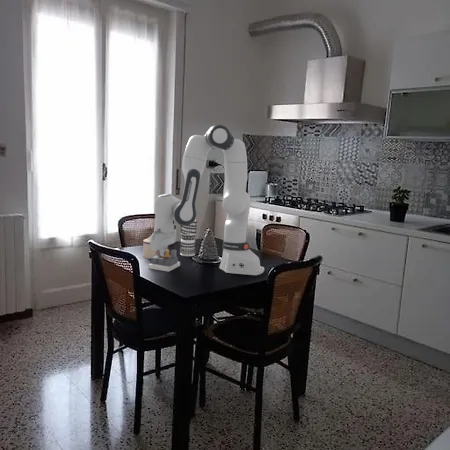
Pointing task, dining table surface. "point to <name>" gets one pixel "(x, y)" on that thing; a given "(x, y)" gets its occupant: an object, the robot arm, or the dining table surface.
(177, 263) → the slab with raised knobs
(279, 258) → the dining table surface
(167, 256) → the breaker handle
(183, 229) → the decorative candle
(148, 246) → the teacup with lid
